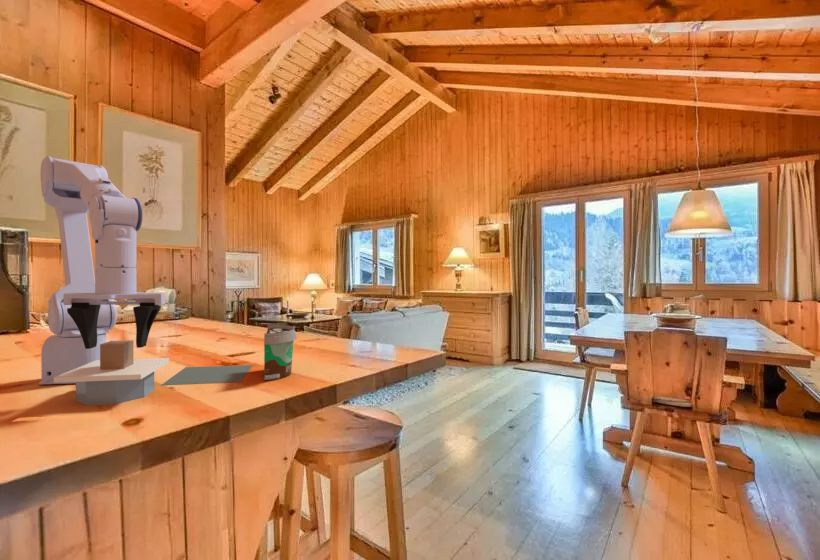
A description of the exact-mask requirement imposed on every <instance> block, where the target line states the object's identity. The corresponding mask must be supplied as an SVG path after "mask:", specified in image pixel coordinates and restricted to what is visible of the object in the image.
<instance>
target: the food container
mask: <svg viewBox="0 0 820 560" xmlns="http://www.w3.org/2000/svg"><path fill="white" fill-rule="evenodd" d="M266 329H267V330H266V333H263V334H264V336H263V338H264V339H263V345H264V350H263V351H264V352H263V353H264V355H263V356H264V359H263V361H264V363H263V366H264V371H263V372H264V379H263V380H264V381H263V382H272V381H276V380H282V379H285V378H288V377H289V376H291V375H292V368H293V367H292V364H293V353H294V341H296V340H297V339H298V337H297V332H296V330H295V328H294V326H293V327H292V326H288V325H276V324H275V325H267V328H266Z"/></svg>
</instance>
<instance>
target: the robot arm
mask: <svg viewBox="0 0 820 560" xmlns="http://www.w3.org/2000/svg"><path fill="white" fill-rule="evenodd" d="M39 173H40V176H39V177H40V178H39V179H40V186H41V194H42V195H41V196H42V198H43V202H44V203H45V204H47V205H49V206H51V207H52V208H54V211H55V214H56V218H57V222H58V229H59V238H60V240H59V241H60V248H61V256H62V265H63V273H64V274H63V275H64V283H65V286H62V287H61V288H60V289H58V290H57V291H54V292H53V293H52V294H51V296H50V298H49V300H48V309H47V310H48V312H47V322H48V323H47V324H48V328H49V331H50V332H51V333H53V334H54V335H49V336H48V337H47V338H46V339H45V340H44V341H43V344H42V346H41V352H40V353H41V355H40V357H41V360H40V361H41V362H40V363H41V366H40V367H41V370H40V371H41V380H40V381H39V382H38V385H42V386H43V385H62V384H65V385H67V384H68V385H69V384H76V382H58V383H54V377H56V376H59V375H61V374H64V373H66V372H68V371H71V370H73V369H76V368H78V367H81V366H83V365H86V364H88V363H91V362H93V361H96V360H100V344H103V343H106V342H107V334H109V333H110V330H112V329H113V328H114V327H115V326H116V324H117V320H118V311H117V306H116V305H119V306H120V305H123V306H124V305H126V306H127V305H130V306H133V305H137V306H133V307H132V308H133V309H132V310H133V314H134V319H135V320H134V321H135V328H136V331H135V332H136V333H135V343H136V345H135V346H136V349H137V348H138V349H140V348H144V347H146V346H147V343H148V338H149V334H150V332H151V329H152V326H153V323H154V321H155V319H156V317H157V315H158V314H159V313H160V311H161V309H162V305H166V296H167V295H166V292H162V293H161V292H160V293H159V292H137V290H138V289H137V286H138V285H137V281H138V280H137V278H138V277H137V252H138V251H137V246H138V245H137V243H138V242H137V241H138V240H137V239H138V237H137V234H138V233H137V232H139V231H140V229H141V228H142V225H143V224H142V223H143V220H144V217H143V216H144V210H143V205H142V203H141V201H140V200H139V198H137V197H131V198H130V197H126V196H125V195H124V194H123V193H122V192H121V191H120V190H119V188H118V187H117V186H115V184H114V183H112V181H111V179H110V178H109V175H108V171H107V169H106V168H105V167H104V166H103V165H100V164H99V165H95V164H91V163H85V162H78V161H75V160H74V161H73V160H67V159H61V158H57V157H52V156H51V155H47V156H45V157H44V158H43V159H42V160H41V163H40V171H39ZM88 216H89V217H88ZM88 218H89V220H88ZM88 221H89V222H88ZM89 224H90V228H91V235H90V229H89ZM91 238H92V239H93V240H94V259H93V254H92V245H91ZM93 260H94V261H93ZM93 262H94V263H93ZM115 300H116V301H115ZM117 300H119V301H117ZM120 300H121V301H120ZM122 300H123V301H122ZM124 300H126V301H124Z"/></svg>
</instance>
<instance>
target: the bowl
mask: <svg viewBox="0 0 820 560" xmlns="http://www.w3.org/2000/svg"><path fill="white" fill-rule="evenodd" d="M154 391H155V371H154V372H152V373H151V374H149V375H147V376H146V377H144V378H142V379H137V380H111V381H84V382H76V383H75V401H76V402H78V403H80V404H82V405H85V406H86V407H87V406H104V405H105V406H106V405H118V404H123V403H127V402H131V401H135V400H140V399H142V398H146V397H147V396H148V395H150V394H151V393H153V392H154Z"/></svg>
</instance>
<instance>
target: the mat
mask: <svg viewBox="0 0 820 560" xmlns="http://www.w3.org/2000/svg"><path fill="white" fill-rule="evenodd" d="M253 366H254V365H253V364H245V365H244V364H239V365H218V366H217V365H215V366H213V365H212V366H186V367H183V368H182V369H181V370H180V371H178V372H177V373H176V374H174V375H173V376H171V377H170V378H169V379H167V380H166V381H165V382H162V384H161V386H183V385H207V384H226V383H227V384H228V383H229V384H230V383H231V384H233V383H242V382H243V380H244V378H245V377H246V376H247V374H248V373H249V372H250V371H251V369H252V368H253Z"/></svg>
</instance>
